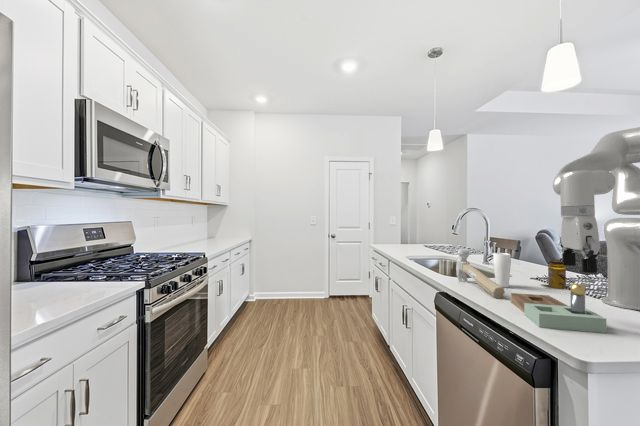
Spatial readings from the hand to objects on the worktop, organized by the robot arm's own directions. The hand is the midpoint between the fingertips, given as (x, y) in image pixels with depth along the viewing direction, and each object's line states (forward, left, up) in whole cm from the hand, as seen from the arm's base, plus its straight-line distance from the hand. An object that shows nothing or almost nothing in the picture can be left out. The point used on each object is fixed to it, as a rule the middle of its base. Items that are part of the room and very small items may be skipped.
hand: (578, 268), depth 84 cm
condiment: (-15, -47, -17) cm, 53 cm away
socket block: (+6, -12, -17) cm, 22 cm away
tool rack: (+5, +1, -17) cm, 17 cm away
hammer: (+18, -37, -17) cm, 44 cm away
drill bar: (+1, +1, -17) cm, 17 cm away
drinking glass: (+7, -43, -17) cm, 47 cm away
